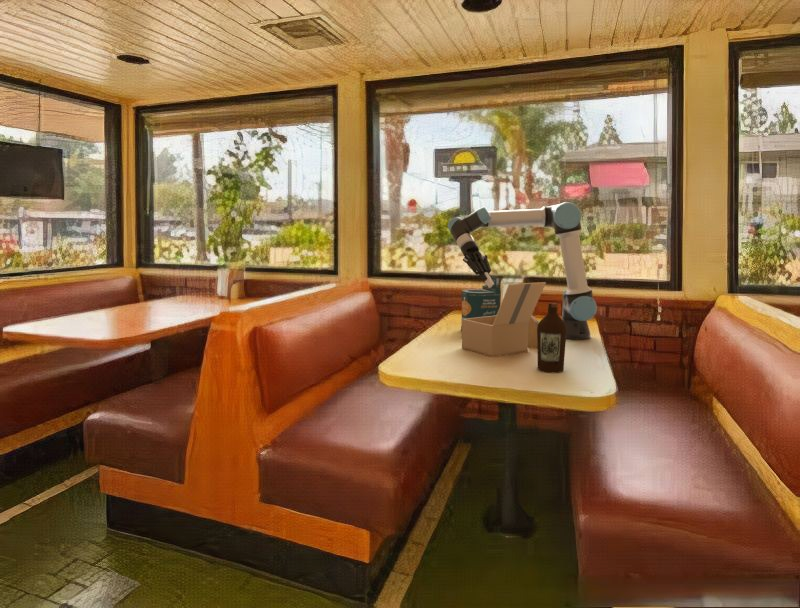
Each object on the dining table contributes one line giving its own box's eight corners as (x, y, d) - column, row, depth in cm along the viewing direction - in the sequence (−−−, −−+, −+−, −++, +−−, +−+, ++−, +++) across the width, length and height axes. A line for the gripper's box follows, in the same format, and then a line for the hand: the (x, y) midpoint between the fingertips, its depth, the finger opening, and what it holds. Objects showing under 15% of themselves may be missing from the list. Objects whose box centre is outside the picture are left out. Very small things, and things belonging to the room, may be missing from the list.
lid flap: (508, 284, 215) (509, 285, 215) (545, 281, 225) (546, 282, 225) (492, 325, 225) (493, 325, 225) (528, 320, 235) (528, 321, 235)
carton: (461, 348, 244) (462, 319, 242) (496, 343, 254) (497, 315, 253) (491, 357, 227) (492, 325, 225) (527, 351, 237) (528, 321, 236)
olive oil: (537, 365, 213) (539, 300, 210) (566, 367, 209) (569, 302, 206) (533, 371, 203) (536, 304, 200) (563, 374, 200) (566, 305, 196)
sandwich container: (562, 349, 243) (564, 315, 241) (526, 347, 246) (527, 314, 244) (562, 345, 251) (563, 312, 249) (527, 343, 255) (528, 311, 253)
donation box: (499, 333, 279) (500, 278, 275) (469, 335, 274) (470, 278, 271) (485, 328, 294) (487, 275, 290) (457, 329, 290) (458, 276, 286)
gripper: (475, 251, 257) (498, 290, 245) (452, 251, 250) (475, 292, 238) (482, 239, 252) (507, 279, 240) (460, 240, 245) (483, 280, 233)
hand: (491, 285), depth 239 cm, fingers closed
